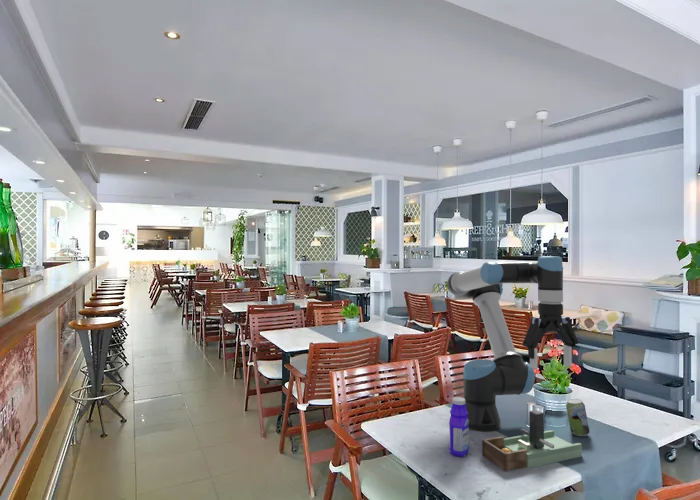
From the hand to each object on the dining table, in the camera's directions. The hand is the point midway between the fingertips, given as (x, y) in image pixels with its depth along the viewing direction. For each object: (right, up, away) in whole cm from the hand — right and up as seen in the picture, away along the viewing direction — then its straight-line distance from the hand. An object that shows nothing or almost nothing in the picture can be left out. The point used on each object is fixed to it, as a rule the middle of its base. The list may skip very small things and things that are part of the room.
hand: (550, 367), depth 142 cm
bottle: (-31, -27, -4) cm, 41 cm away
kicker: (-9, -24, -5) cm, 26 cm away
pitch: (-5, -27, -4) cm, 28 cm away
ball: (-19, -26, -9) cm, 33 cm away
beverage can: (+15, -27, +11) cm, 33 cm away
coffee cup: (+19, -28, +43) cm, 55 cm away
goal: (-18, -27, -9) cm, 34 cm away
